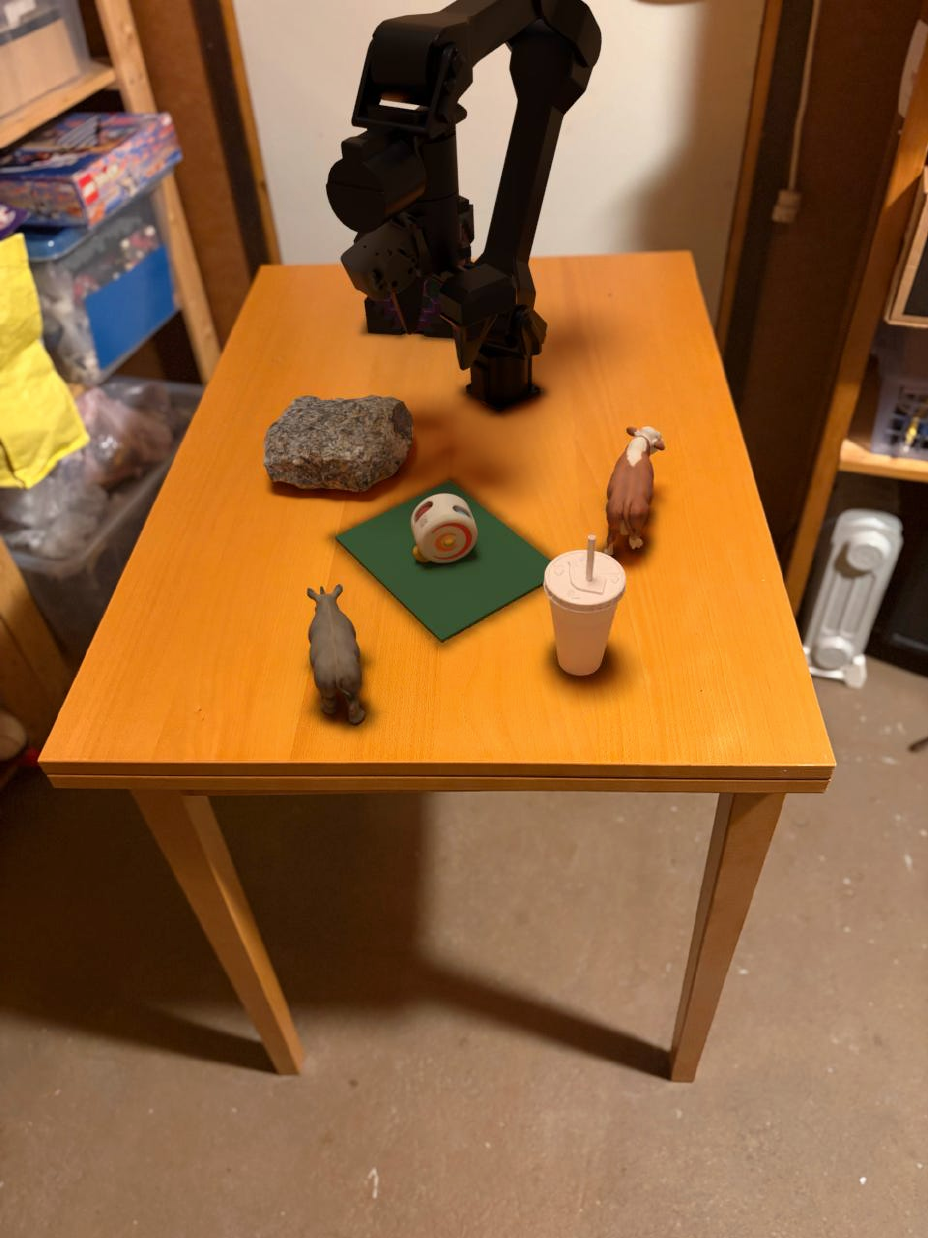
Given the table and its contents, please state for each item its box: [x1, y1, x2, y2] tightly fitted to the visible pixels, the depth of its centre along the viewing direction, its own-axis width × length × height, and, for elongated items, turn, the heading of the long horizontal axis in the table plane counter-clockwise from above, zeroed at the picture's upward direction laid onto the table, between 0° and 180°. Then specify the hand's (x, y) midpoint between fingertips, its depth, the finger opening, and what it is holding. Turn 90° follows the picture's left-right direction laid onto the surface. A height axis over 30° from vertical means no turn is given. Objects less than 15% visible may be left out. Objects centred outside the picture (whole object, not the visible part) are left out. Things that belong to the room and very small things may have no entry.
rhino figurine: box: [306, 583, 366, 724], centre depth 77 cm, size 4×14×6 cm, turn 12°
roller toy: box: [411, 494, 478, 563], centre depth 87 cm, size 4×6×6 cm
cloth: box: [334, 480, 552, 643], centre depth 89 cm, size 14×18×1 cm
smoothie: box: [542, 534, 627, 677], centre depth 74 cm, size 6×6×14 cm
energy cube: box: [363, 203, 476, 339], centre depth 119 cm, size 12×12×12 cm
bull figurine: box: [603, 425, 666, 557], centre depth 88 cm, size 4×13×8 cm, turn 161°
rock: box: [262, 394, 414, 493], centre depth 98 cm, size 13×6×15 cm
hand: (437, 350), depth 92 cm, fingers open, 9 cm apart
